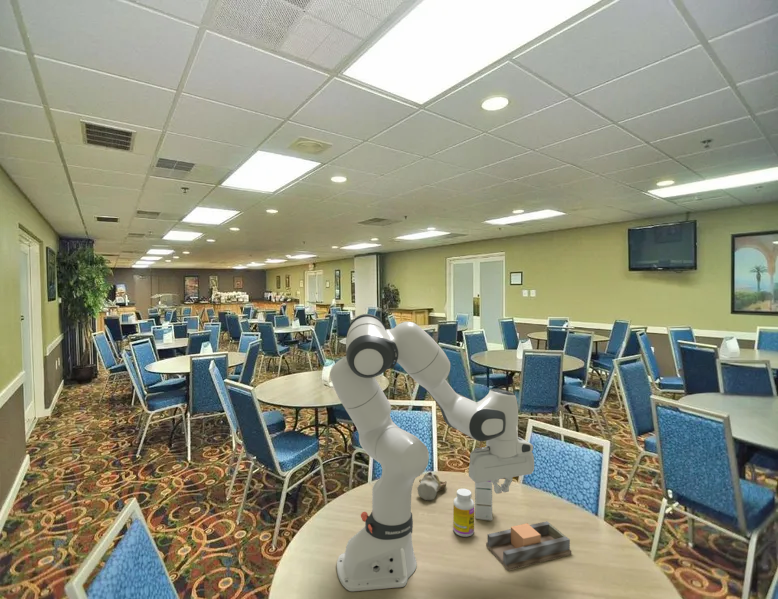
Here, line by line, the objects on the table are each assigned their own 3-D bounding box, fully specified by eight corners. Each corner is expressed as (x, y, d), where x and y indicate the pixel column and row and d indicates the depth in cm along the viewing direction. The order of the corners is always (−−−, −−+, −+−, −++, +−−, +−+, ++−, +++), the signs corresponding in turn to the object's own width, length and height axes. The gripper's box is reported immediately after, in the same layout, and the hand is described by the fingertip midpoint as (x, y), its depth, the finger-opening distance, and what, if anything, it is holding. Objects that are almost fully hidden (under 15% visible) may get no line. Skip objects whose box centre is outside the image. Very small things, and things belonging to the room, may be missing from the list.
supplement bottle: (470, 540, 121) (471, 499, 120) (450, 534, 124) (450, 494, 123) (476, 528, 126) (476, 489, 126) (456, 523, 130) (457, 485, 129)
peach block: (523, 555, 112) (523, 538, 112) (510, 542, 118) (510, 526, 118) (540, 551, 114) (540, 534, 114) (527, 539, 119) (527, 523, 119)
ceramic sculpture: (411, 476, 144) (422, 462, 158) (410, 500, 143) (422, 484, 157) (439, 482, 140) (448, 467, 154) (438, 506, 139) (447, 489, 153)
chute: (507, 570, 107) (507, 556, 107) (486, 545, 118) (486, 532, 118) (571, 554, 114) (571, 540, 114) (545, 532, 125) (545, 520, 125)
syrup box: (492, 521, 131) (493, 478, 130) (474, 518, 132) (475, 476, 132) (491, 511, 136) (491, 470, 136) (474, 509, 138) (474, 469, 137)
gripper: (476, 453, 106) (475, 503, 107) (537, 445, 113) (537, 491, 113) (464, 444, 112) (464, 492, 113) (524, 437, 119) (523, 481, 119)
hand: (501, 491), depth 113 cm, fingers closed
